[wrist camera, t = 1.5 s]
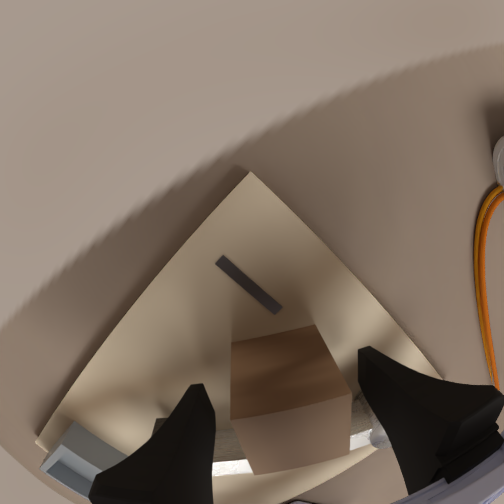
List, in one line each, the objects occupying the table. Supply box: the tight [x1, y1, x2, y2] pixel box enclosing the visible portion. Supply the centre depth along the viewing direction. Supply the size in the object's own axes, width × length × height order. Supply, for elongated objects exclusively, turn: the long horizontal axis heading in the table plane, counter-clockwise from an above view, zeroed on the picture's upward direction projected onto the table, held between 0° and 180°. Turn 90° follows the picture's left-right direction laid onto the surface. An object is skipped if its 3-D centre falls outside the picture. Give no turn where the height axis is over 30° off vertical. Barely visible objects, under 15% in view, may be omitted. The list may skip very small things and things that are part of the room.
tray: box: [39, 421, 128, 501], centre depth 14 cm, size 11×9×2 cm
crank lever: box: [151, 390, 392, 476], centre depth 13 cm, size 15×4×3 cm, turn 102°
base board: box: [35, 172, 443, 504], centre depth 15 cm, size 20×29×1 cm
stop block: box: [230, 324, 352, 476], centre depth 11 cm, size 4×4×5 cm
